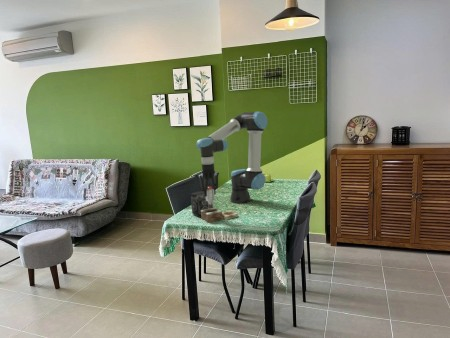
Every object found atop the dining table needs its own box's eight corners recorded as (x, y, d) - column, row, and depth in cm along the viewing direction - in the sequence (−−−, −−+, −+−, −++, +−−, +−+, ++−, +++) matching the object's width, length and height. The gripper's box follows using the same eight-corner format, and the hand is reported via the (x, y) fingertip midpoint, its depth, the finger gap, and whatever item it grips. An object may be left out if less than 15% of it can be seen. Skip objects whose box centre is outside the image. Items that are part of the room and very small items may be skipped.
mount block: (231, 213, 223) (231, 210, 223) (238, 216, 215) (238, 213, 215) (219, 216, 219) (218, 213, 219) (225, 219, 211) (225, 216, 211)
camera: (199, 218, 216) (197, 196, 213) (190, 215, 224) (188, 193, 222) (212, 215, 222) (210, 192, 219) (203, 211, 230) (202, 190, 228)
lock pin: (212, 206, 215) (210, 186, 212) (214, 207, 212) (213, 187, 209) (207, 207, 213) (205, 187, 211) (209, 208, 210) (208, 188, 208)
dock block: (215, 215, 220) (214, 207, 219) (222, 219, 212) (221, 210, 211) (201, 218, 216) (200, 210, 215) (208, 222, 207) (207, 214, 206)
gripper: (217, 161, 214) (219, 196, 219) (193, 164, 207) (195, 201, 211) (222, 162, 208) (224, 199, 212) (197, 165, 200) (200, 204, 204)
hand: (210, 200), depth 211 cm, fingers closed on lock pin, 3 cm apart
